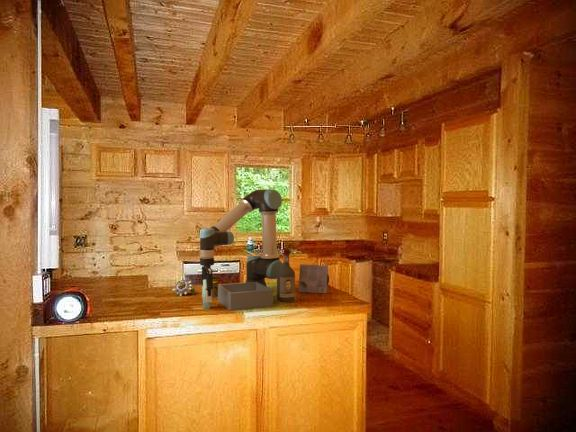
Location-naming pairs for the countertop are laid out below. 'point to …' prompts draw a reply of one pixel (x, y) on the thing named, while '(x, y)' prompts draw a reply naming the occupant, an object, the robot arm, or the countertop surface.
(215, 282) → the condiment
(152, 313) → the countertop surface
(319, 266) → the cake pan box
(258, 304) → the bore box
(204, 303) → the peg
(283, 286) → the liquor
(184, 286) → the passion flower
